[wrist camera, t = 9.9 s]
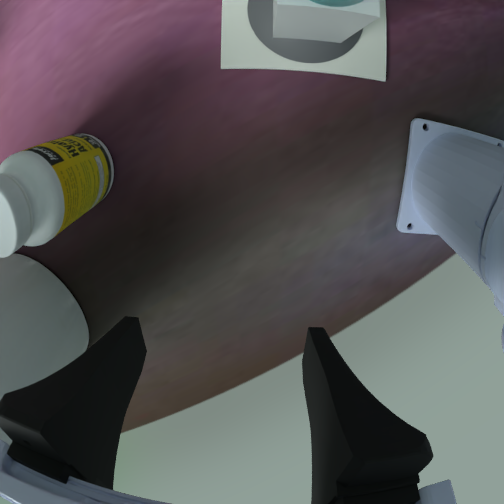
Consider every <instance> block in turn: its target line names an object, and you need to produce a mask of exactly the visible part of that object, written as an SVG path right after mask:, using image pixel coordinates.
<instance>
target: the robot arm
mask: <svg viewBox="0 0 504 504" xmlns="http://www.w3.org/2000/svg"><path fill="white" fill-rule="evenodd" d="M423 124H426V126H427V128H426V130H423ZM498 144H499V146H497V145H498ZM409 223H411V226H410V227H409V228H407V226H408V224H409ZM396 227H397V229H398V230H399V231H400V232H403V233H419V234H434V235H439V236H440V237H441V238H442V239H443V240H444V241H445V242H446V243H447V244H448V245H449V246H450V247H451V248H452V249H453V250H454V251H455V252H456V253H457V254H458V255H459V256H460V257H461V258H462V259H463V260H464V261H465V262H466V263H467V264H468V265H469V266H470V267H471V268H472V269H473V271H474V272H475V273H476V274H477V275H478V276H479V277H480V278H481V279H482V281H483V282H484V283H485V284H486V285H487V286H488V287H489V288H490V290H491V291H492V292H493V293H494V298H495V302H494V305H495V306H496V307H497V308H498V310H499V311H500V312H501V314H502V315H503V316H504V141H503V140H500V139H496V138H493V137H490V136H487V135H484V134H480V133H477V132H473V131H470V130H466V129H462V128H459V127H455V126H451V125H447V124H443V123H438V122H434V121H430V120H425V119H420V118H415V119H413V120H412V121H411V127H410V137H409V146H408V154H407V162H406V169H405V176H404V183H403V189H402V195H401V201H400V207H399V212H398V218H397V223H396ZM502 348H503V352H504V326H503V329H502ZM146 352H147V350H146V346H145V343H144V339H143V335H142V331H141V327H140V323H139V318H137V317H128V316H126V317H124V318H123V319H122V320H121V321H120V322H119V323H117V324H116V325H115V326H114V327H113V328H112V329H111V330H110V331H109V332H108V333H106V334H105V335H104V336H103V337H102V338H101V339H100V340H99V341H97V342H96V343H95V344H94V345H93V346H91V347H90V348H89V349H88V350H86V351H85V352H84V353H83V354H82V355H80V356H79V357H78V358H76V359H75V360H74V361H72V362H71V363H69V364H68V365H66V366H65V367H63V368H62V369H60V370H58V371H57V372H55V373H53V374H51V375H49V376H48V377H46V378H44V379H42V380H40V381H38V382H36V383H33V384H31V385H29V386H26V387H23V388H21V389H18V390H15V391H12V392H9V393H5V394H4V395H3V397H2V399H1V400H0V428H1V429H2V430H3V431H4V432H5V433H6V434H7V436H8V437H9V438H10V439H11V440H12V443H11V445H9V444H7V443H6V442H4V441H3V440H1V439H0V496H1V497H3V498H4V499H6V500H8V501H9V502H11V503H13V504H170V503H165V502H159V501H155V500H150V499H145V498H141V497H136V496H132V495H128V494H125V493H121V492H117V491H114V490H113V480H114V469H115V461H116V455H117V449H118V443H119V438H120V433H121V429H122V425H123V421H124V417H125V414H126V411H127V408H128V405H129V403H130V400H131V397H132V395H133V392H134V390H135V387H136V385H137V382H138V380H139V377H140V374H141V372H142V368H143V365H144V361H145V356H146ZM302 368H303V384H304V390H305V396H306V402H307V408H308V414H309V421H310V428H311V443H312V501H311V504H457V503H456V499H455V496H454V492H453V488H452V485H451V481H450V480H445V481H442V482H439V483H435V484H432V485H429V486H426V487H423V488H421V489H419V490H418V487H417V483H419V480H420V479H419V475H418V473H419V472H420V471H422V470H423V468H425V467H426V466H427V465H428V464H429V463H430V461H431V460H432V458H433V453H432V450H431V446H430V443H429V441H428V439H427V437H426V434H424V433H423V432H420V431H419V430H417V429H416V428H414V427H412V426H411V425H409V424H407V423H406V422H405V421H403V420H402V419H400V418H399V417H397V416H396V415H395V414H394V413H392V412H391V411H390V410H389V409H388V408H386V407H385V406H384V405H383V404H382V403H381V402H379V401H378V400H377V399H376V398H375V397H374V396H373V395H372V394H371V393H370V392H369V391H368V390H367V389H366V388H365V386H363V384H362V383H361V382H360V381H359V380H358V378H357V377H356V376H355V374H354V373H353V372H352V371H351V369H350V368H349V367H348V365H347V364H346V362H345V361H344V360H343V358H342V357H341V355H340V354H339V352H338V351H337V349H336V348H335V346H334V344H333V343H332V341H331V340H330V338H329V336H328V334H327V333H326V331H325V329H324V328H323V327H308V332H307V338H306V343H305V349H304V354H303V359H302Z"/></svg>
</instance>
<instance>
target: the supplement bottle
mask: <svg viewBox="0 0 504 504" xmlns="http://www.w3.org/2000/svg"><path fill="white" fill-rule="evenodd" d="M113 178H114V166H113V161H112V158H111V155H110V153H109V151H108V149H107V147H106V146H105V145H104V144H103V143H102V142H101V141H100V140H99V139H98V138H96V137H94V136H92V135H88V134H75V135H70V136H67V137H63V138H60V139H56V140H53V141H49V142H46V143H43V144H40V145H37V146H34V147H31V148H28V149H25V150H22V151H20V152H17V153H15V154H13V155H11V156H9V157H8V158H6V159H5V160H4V161H3V162H2V163H1V165H0V258H5V257H8V256H10V255H11V254H13V253H14V252H15V251H17V250H18V249H19V248H20V247H22V246H23V245H25V246H39V245H42V244H45V243H46V242H48V241H49V240H51V239H52V238H54V237H55V236H56V235H58V234H59V233H60V232H61V231H62V230H64V229H65V228H66V227H67V226H69V225H70V224H71V223H73V222H74V221H75V220H77V219H78V218H79V217H81V216H82V215H83V214H85V213H86V212H87V211H89V210H90V209H91V208H93V207H94V206H95V205H97V204H98V203H99V202H101V201H102V200H103V199H104V198H105V197H106V195H107V194H108V192H109V191H110V189H111V186H112V183H113Z"/></svg>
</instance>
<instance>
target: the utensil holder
mask: <svg viewBox="0 0 504 504" xmlns="http://www.w3.org/2000/svg"><path fill="white" fill-rule="evenodd" d="M88 342H89V331H88V326H87V323H86V320H85V317H84V315H83V312H82V310H81V308H80V306H79V305H78V303H77V301H76V300H75V298H74V297H73V295H72V294H71V292H70V291H69V290H68V289H67V287H66V286H65V285H64V284H63V283H62V282H61V281H60V280H59V279H58V278H57V277H56V276H55V275H54V274H53V273H52V272H51V271H50V270H48V269H47V268H46V267H44V266H43V265H42V264H40V263H39V262H37V261H35V260H33V259H31V258H29V257H27V256H24V255H21V254H15V253H13V254H11V255H10V256H8V257H5V258H0V400H1V399H2V397H3V395H4V394H5V393H9V392H12V391H15V390H18V389H21V388H23V387H26V386H29V385H31V384H33V383H36V382H38V381H40V380H42V379H44V378H46V377H48V376H49V375H51V374H53V373H55V372H57V371H58V370H60V369H62V368H63V367H65V366H66V365H68V364H69V363H71V362H72V361H74V360H75V359H76V358H78V357H79V356H80V355H82V354H83V353H84V352H85V351H86V349H87V347H88ZM0 439H1V440H3V441H4V442H6V443H7V444H9V445H11V443H12V440H11V439H10V438H9V437H8V436H7V434H6V433H5V432H4V431H3V430H2V429H1V428H0Z"/></svg>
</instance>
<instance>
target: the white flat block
mask: <svg viewBox="0 0 504 504" xmlns="http://www.w3.org/2000/svg"><path fill="white" fill-rule="evenodd" d="M379 2H380V18H378V19H376V20H375V21H373V22H372V23H370V24H368V25H367V26H365V27H364V28H362V29H361V30H359V31H358V32H356V33H355V34H353V35H352V36H350V37H349V38H347V39H346V40H344V41H343V42H342V43H336V42H328V41H318V40H307V39H292V38H273V0H222V29H221V69H276V70H295V71H308V72H319V73H329V74H338V75H345V76H353V77H359V78H366V79H372V80H378V81H383V82H386V1H385V0H379Z"/></svg>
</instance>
